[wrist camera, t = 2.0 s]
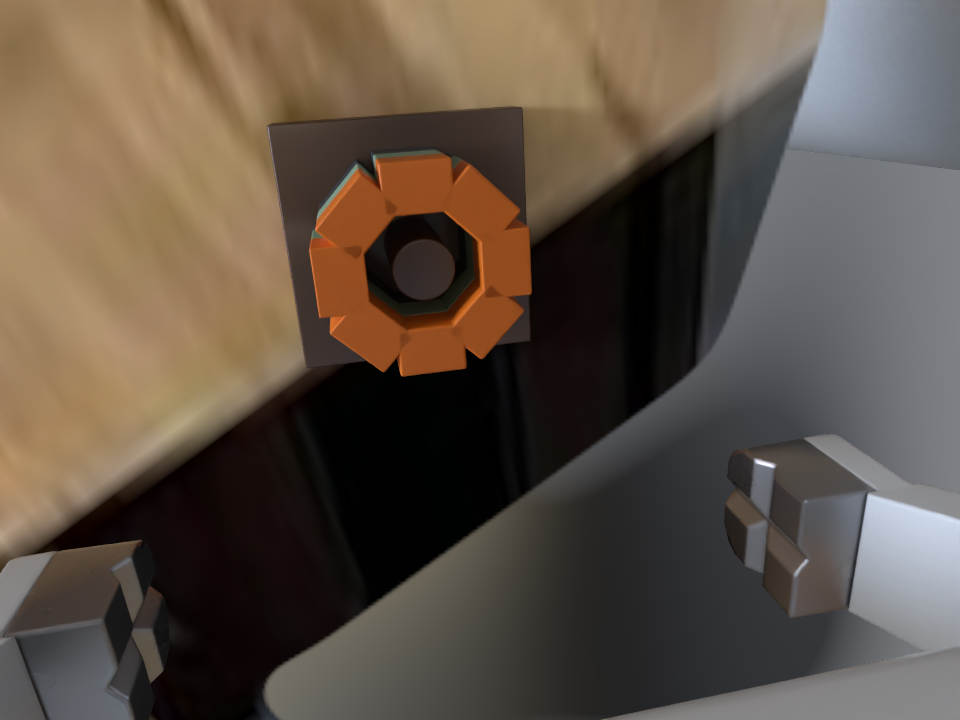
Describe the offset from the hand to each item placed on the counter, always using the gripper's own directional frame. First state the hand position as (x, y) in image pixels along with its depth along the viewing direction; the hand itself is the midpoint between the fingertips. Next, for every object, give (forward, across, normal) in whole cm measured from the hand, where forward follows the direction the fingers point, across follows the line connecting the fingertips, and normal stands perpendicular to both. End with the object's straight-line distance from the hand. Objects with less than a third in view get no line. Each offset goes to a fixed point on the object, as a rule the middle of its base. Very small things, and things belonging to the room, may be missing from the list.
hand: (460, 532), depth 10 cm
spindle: (+19, -1, 0) cm, 19 cm away
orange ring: (+15, -1, 0) cm, 15 cm away
